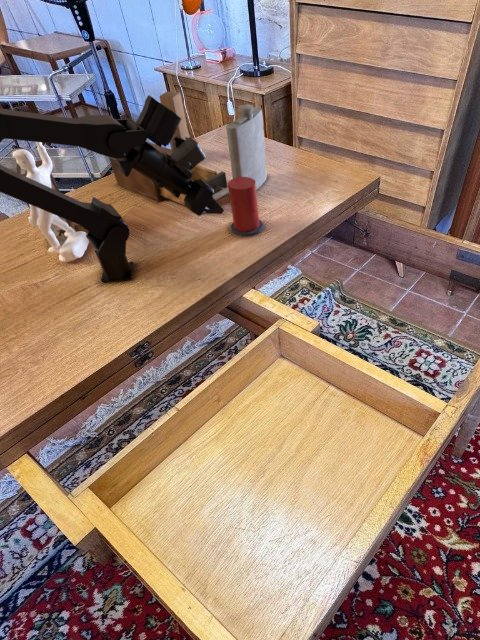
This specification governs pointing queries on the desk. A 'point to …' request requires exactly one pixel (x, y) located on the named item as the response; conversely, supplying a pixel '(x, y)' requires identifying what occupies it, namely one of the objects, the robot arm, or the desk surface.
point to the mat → (247, 232)
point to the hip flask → (247, 145)
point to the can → (244, 203)
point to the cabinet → (139, 178)
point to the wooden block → (175, 104)
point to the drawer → (208, 177)
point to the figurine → (44, 219)
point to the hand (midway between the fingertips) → (213, 203)
